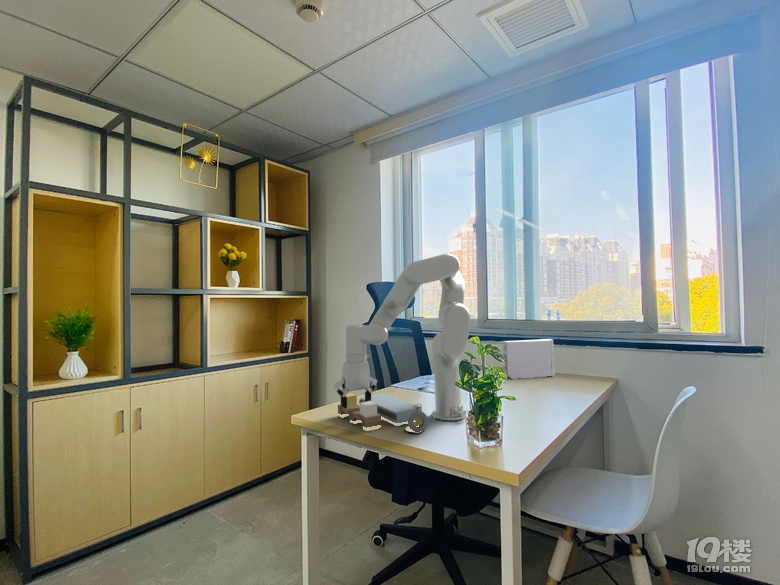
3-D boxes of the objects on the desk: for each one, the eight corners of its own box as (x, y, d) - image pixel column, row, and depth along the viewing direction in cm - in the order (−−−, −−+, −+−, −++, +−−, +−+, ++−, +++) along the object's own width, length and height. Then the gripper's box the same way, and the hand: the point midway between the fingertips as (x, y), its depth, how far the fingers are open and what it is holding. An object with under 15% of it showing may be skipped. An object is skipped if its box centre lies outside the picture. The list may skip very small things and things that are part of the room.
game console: (556, 376, 208) (554, 339, 208) (508, 379, 204) (507, 342, 204) (550, 374, 213) (548, 338, 214) (503, 377, 210) (502, 341, 210)
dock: (422, 420, 139) (421, 406, 139) (395, 427, 132) (395, 412, 132) (383, 405, 160) (383, 393, 161) (359, 410, 154) (359, 398, 154)
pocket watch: (412, 426, 133) (411, 397, 133) (432, 431, 128) (431, 400, 128) (397, 433, 127) (396, 402, 127) (418, 438, 121) (417, 406, 122)
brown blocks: (381, 428, 132) (381, 415, 132) (366, 432, 128) (366, 418, 128) (352, 413, 150) (351, 402, 150) (338, 416, 147) (337, 405, 147)
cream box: (377, 415, 132) (376, 403, 132) (366, 417, 130) (365, 405, 130) (370, 412, 136) (370, 400, 136) (359, 414, 134) (359, 402, 134)
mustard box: (356, 405, 145) (356, 395, 145) (346, 407, 143) (346, 397, 143) (351, 403, 149) (351, 393, 149) (341, 405, 146) (340, 394, 146)
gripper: (371, 355, 148) (371, 399, 147) (330, 358, 138) (329, 406, 138) (381, 357, 141) (381, 404, 141) (339, 361, 132) (339, 411, 131)
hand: (356, 405), depth 139 cm, fingers open, 9 cm apart
